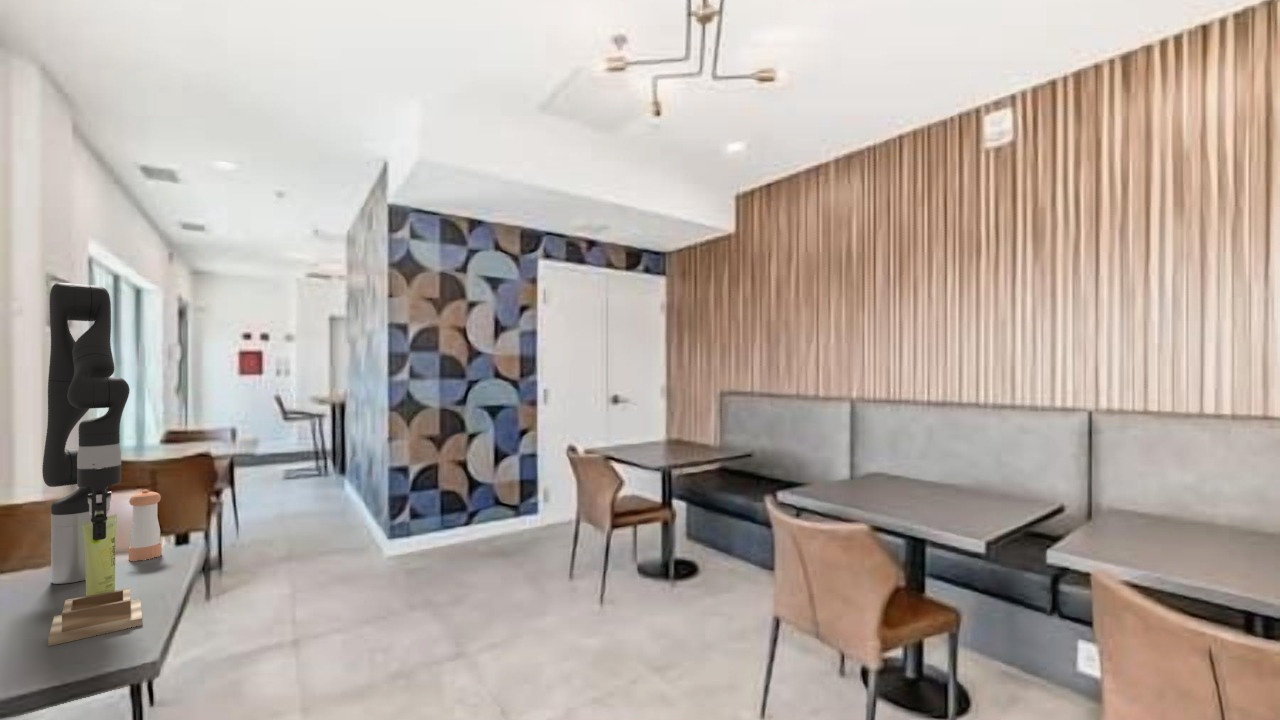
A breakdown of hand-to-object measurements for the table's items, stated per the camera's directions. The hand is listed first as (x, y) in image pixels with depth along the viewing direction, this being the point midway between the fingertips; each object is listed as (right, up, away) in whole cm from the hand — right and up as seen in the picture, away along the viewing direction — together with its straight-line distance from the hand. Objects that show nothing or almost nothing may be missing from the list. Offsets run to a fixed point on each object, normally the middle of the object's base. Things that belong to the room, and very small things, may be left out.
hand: (99, 535), depth 138 cm
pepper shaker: (-17, -16, +34) cm, 41 cm away
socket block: (+10, -15, -11) cm, 22 cm away
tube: (0, -16, 0) cm, 16 cm away
